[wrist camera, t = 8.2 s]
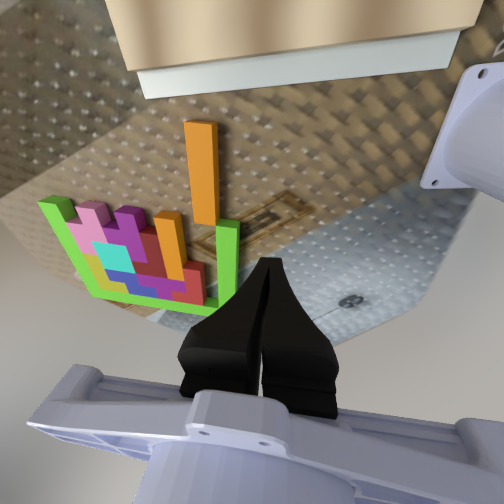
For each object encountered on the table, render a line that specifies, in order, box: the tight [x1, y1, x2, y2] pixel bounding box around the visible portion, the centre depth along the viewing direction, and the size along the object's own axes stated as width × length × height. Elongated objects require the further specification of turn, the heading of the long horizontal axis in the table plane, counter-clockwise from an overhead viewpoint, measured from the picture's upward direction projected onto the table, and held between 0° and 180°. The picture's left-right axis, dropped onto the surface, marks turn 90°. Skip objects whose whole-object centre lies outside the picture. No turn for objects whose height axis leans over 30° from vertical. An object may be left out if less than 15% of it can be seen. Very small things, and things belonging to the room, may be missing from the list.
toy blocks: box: [37, 120, 240, 316], centre depth 25 cm, size 23×2×25 cm
